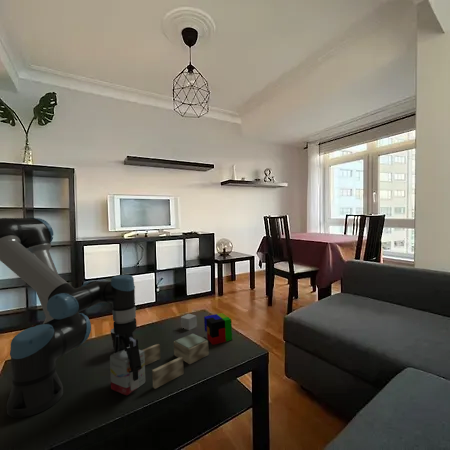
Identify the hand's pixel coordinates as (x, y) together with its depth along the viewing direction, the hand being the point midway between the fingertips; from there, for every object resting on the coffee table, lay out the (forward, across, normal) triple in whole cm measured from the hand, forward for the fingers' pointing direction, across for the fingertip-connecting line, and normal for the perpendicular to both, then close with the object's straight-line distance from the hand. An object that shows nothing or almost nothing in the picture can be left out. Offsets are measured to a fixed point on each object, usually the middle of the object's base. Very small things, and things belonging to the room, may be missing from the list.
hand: (128, 382), depth 94 cm
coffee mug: (+1, +28, -10) cm, 30 cm away
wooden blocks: (+1, 0, -19) cm, 19 cm away
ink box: (+1, 0, 0) cm, 1 cm away
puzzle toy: (+2, +3, -46) cm, 47 cm away
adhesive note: (+1, +25, -46) cm, 52 cm away
